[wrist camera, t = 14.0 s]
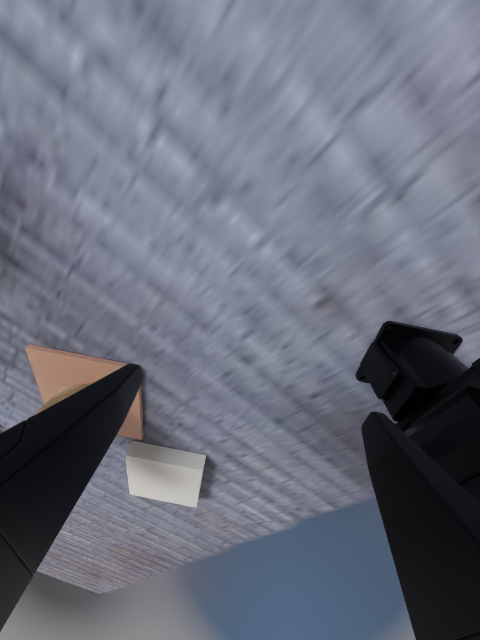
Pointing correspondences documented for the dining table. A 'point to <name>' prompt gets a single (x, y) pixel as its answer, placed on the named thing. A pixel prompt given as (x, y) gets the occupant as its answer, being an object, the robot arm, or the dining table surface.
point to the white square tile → (164, 473)
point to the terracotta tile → (79, 379)
